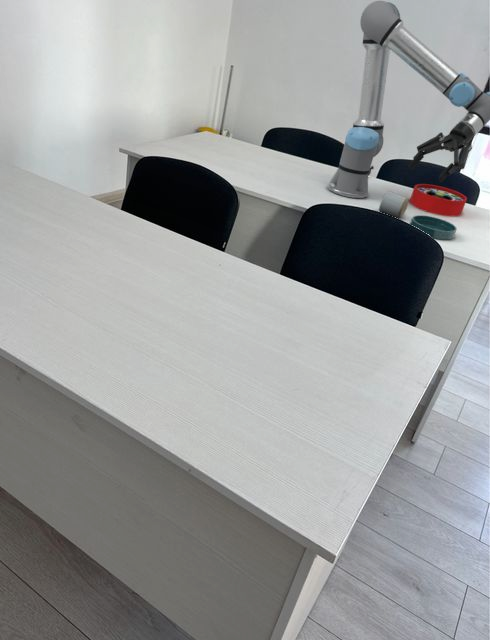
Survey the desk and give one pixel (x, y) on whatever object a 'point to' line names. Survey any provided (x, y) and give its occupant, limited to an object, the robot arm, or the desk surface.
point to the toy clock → (438, 200)
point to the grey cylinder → (393, 204)
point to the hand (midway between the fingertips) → (424, 173)
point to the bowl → (434, 227)
